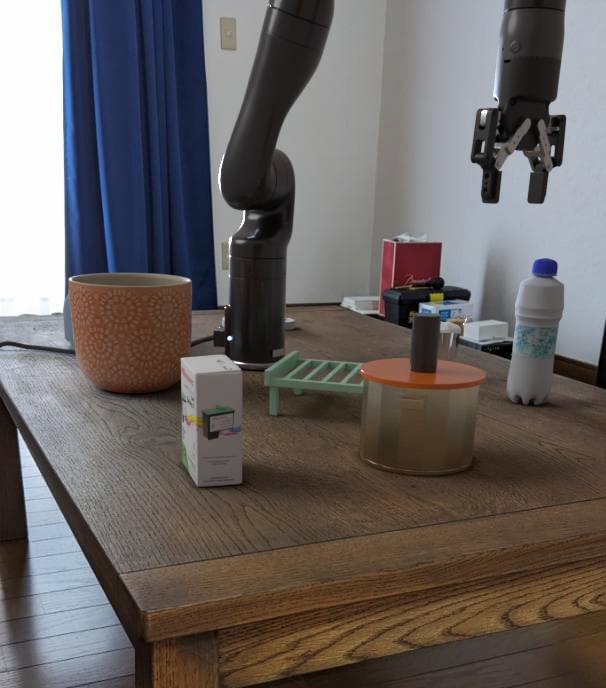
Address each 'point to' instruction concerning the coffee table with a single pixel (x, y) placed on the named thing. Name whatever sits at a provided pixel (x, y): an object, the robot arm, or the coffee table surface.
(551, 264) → the bottle
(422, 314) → the lid
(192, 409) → the ink box
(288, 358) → the rack
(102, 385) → the planter
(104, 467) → the coffee table surface
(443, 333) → the milkshake
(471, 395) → the pot
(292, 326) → the game controller
